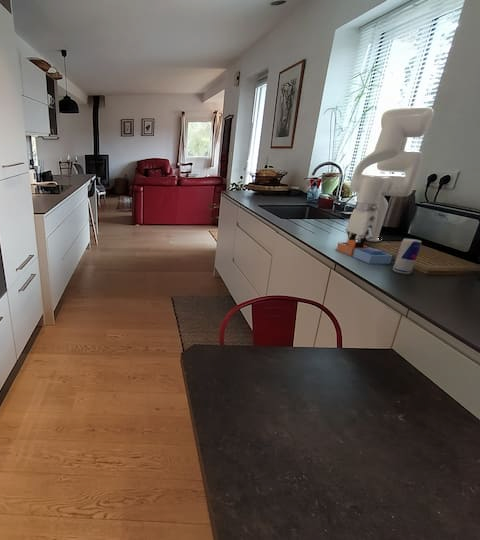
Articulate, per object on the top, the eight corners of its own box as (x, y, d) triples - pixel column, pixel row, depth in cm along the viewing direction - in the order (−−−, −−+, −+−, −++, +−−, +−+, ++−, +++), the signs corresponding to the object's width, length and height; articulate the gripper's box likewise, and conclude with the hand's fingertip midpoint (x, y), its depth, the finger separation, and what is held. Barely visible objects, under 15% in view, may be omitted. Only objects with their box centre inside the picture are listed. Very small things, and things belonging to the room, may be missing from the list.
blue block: (362, 257, 134) (365, 248, 132) (371, 257, 134) (374, 248, 132) (370, 260, 130) (373, 251, 128) (379, 260, 130) (382, 251, 129)
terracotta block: (346, 248, 143) (348, 239, 141) (354, 248, 143) (357, 239, 141) (352, 251, 139) (355, 242, 137) (361, 251, 139) (364, 242, 138)
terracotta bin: (336, 249, 145) (338, 242, 144) (355, 249, 146) (357, 242, 144) (350, 255, 137) (352, 248, 136) (370, 255, 137) (372, 248, 136)
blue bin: (352, 256, 136) (354, 248, 135) (372, 256, 136) (374, 248, 135) (368, 263, 127) (371, 255, 126) (390, 263, 128) (392, 255, 127)
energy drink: (411, 275, 116) (423, 243, 112) (392, 272, 119) (403, 240, 115) (410, 271, 120) (421, 240, 116) (392, 268, 123) (402, 237, 119)
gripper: (391, 211, 127) (377, 255, 133) (359, 204, 142) (348, 244, 149) (373, 210, 126) (360, 255, 133) (343, 203, 142) (332, 244, 148)
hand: (353, 249), depth 141 cm, fingers closed on terracotta block, 4 cm apart
